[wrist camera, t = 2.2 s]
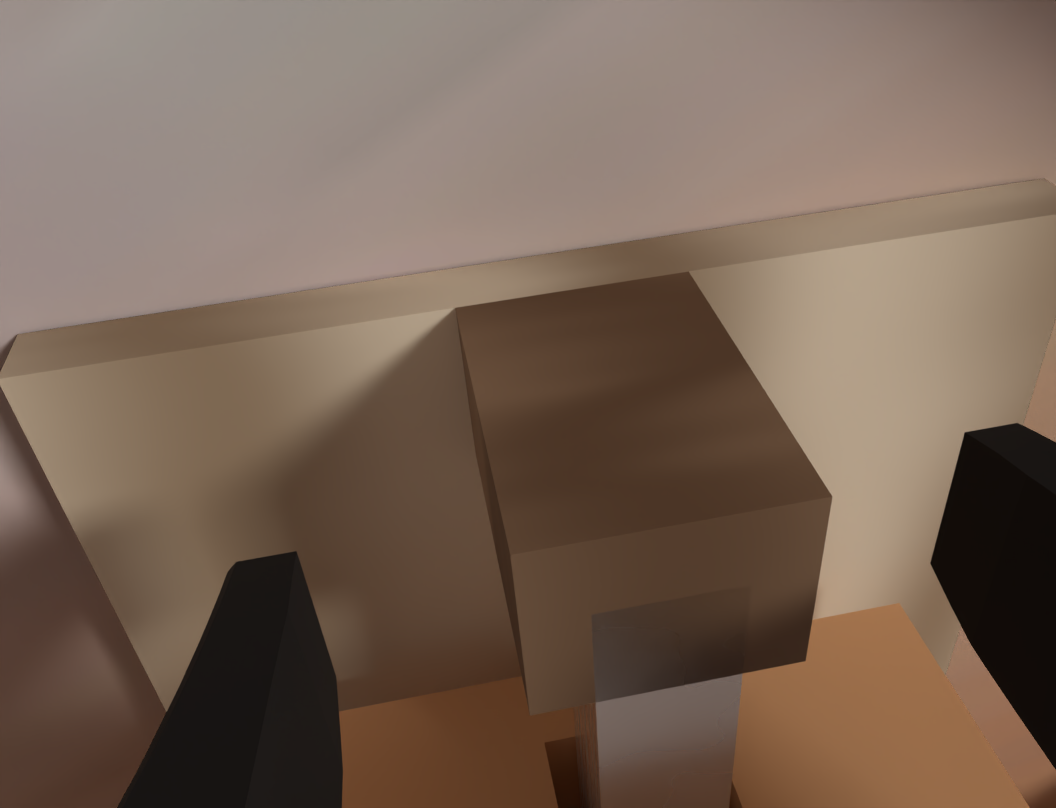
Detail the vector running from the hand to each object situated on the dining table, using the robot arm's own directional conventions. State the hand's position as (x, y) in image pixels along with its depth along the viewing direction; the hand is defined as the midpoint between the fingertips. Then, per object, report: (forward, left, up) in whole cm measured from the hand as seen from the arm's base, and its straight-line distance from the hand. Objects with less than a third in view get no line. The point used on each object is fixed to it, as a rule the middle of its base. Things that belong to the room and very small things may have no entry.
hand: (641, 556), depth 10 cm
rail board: (0, +11, -4) cm, 11 cm away
